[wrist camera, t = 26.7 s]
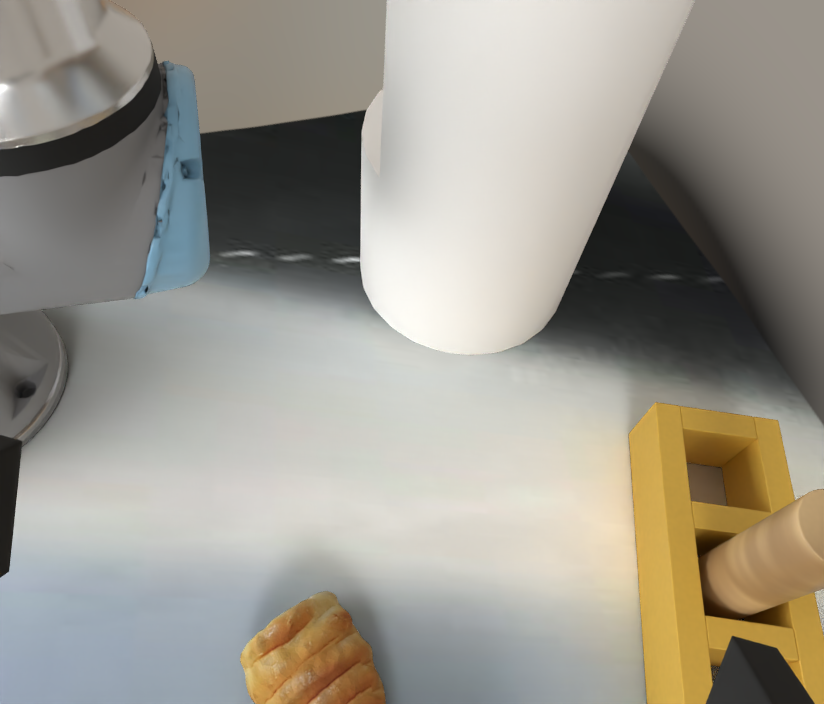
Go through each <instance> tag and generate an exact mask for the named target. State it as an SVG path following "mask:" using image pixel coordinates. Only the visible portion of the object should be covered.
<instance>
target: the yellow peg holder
mask: <svg viewBox="0 0 824 704" xmlns="http://www.w3.org/2000/svg"><path fill="white" fill-rule="evenodd" d="M629 444H630V459H631V473H632V488H633V503H634V518H635V532H636V547H637V562H638V577H639V591H640V606H641V621H642V636H643V651H644V665H645V680H646V695H647V704H706V701H707V699H708V696H709V694H710V691H711V688H712V686H713V682H712V674H711V665H712V666H719V667H720V665H721V663H722V660H723V658H724V655H725V652H726V650H727V647H728V645H729V642H730V640H731V637H732V636H735V637H739V638H743V639H746V640H750V641H753V642H757V643H761V644H764V645H768V646H772V647H775V648H777V649H778V650H779V652H780V653H781V654H782V656H783V657H784V659H785V660H786V662H787V663H788V665H789V666H790V668H791V669H792V671H793V672H794V674H795V675H796V676H797V678H798V679H799V681H800V682H801V684H802V685H803V687H804V688H805V690H806V691H807V693H808V694H809V696H810V697H811V698H812V700H813V701H814V703H815V704H824V636H823V631H822V626H821V622H820V617H819V612H818V607H817V603H816V598H815V593H814V592H813V593H811V594H808V595H805V596H802V597H800V598H797V599H794V600H791V601H789V602H786V603H783V604H780V605H778V606H775V607H772V608H769V609H767V610H764V611H761V612H758V613H756V614H753V615H750V616H747V617H745V618H744V619H745V621H740V620H734V619H727V618H720V617H713V616H705V615H704V606H703V598H702V589H701V581H700V573H699V564H698V556H697V555H699V556H702V555H703V554H705V553H707V552H708V551H710V550H712V549H714V548H715V547H717V546H719V545H720V544H722V543H724V542H725V541H727V540H729V539H731V538H732V537H734V536H736V535H737V534H739V533H741V532H743V531H744V530H746V529H748V528H749V527H751V526H753V525H754V524H756V523H758V522H760V521H761V520H763V519H765V518H766V517H768V516H770V515H771V514H773V513H775V512H777V511H778V510H780V509H782V508H783V507H785V506H787V505H788V504H790V503H792V502H794V501H795V498H794V494H793V489H792V484H791V479H790V475H789V470H788V465H787V460H786V456H785V451H784V446H783V441H782V437H781V432H780V427H779V422H778V420H773V419H766V418H759V417H752V416H745V415H738V414H732V413H725V412H718V411H711V410H704V409H697V408H690V407H683V406H678V405H671V404H664V403H657V402H655V403H654V404H653V406H652V407H651V408H650V409H649V410H648V412H647V413H646V414H645V415H644V416H643V418H642V419H641V420H640V421H639V422H638V423H637V425H636V426H635V427H634V428H633V429H632V431H631V432H630V433H629ZM686 462H687V463H694V464H701V465H708V466H715V467H722V472H723V479H724V486H725V492H726V499H727V506H723V505H716V504H709V503H702V502H695V501H691V497H690V488H689V480H688V471H687V463H686Z"/></svg>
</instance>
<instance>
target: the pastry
mask: <svg viewBox="0 0 824 704" xmlns="http://www.w3.org/2000/svg"><path fill="white" fill-rule="evenodd" d="M240 662H241V664H242V666H243V668H244V671H245V676H246V685H247V690H248V693H249V695H250V697H251V699H252V700H253V701H254V702H255V704H386V701H385V693H384V687H383V684H382V681H381V679H380V676H379V674H378V672H377V671H376V669H375V666H374V663H373V653H372V648H371V646H370V645H369V644H368V643H367V642H366V641H365V640H364V639H363V638H362V637H361V636H360V634H359V632H358V631H357V629H356V628H355V626H354V625H353V624H352V618H351V616H350V614H349V613H348V612H347V611H346V610H345V609H343V608H342V607H341V606H340V604H339V603H338V601H337V597H336V595H334V594H333V593H331V592H328V591H324V592H319V593H316V594H314V595H312V596H311V597H309V598H308V599H307V600H304V601H302V602H300V603H299V604H297V605H296V606H294V607H292V608H290V609H288V610H287V611H285V612H284V613H282V614H281V615H279V616H277V617H276V618H275V619H273V620H272V621H271V622H270V623H269V624H268V625H267V627H266V628H265V629H263V630H261V631H259V632H258V633H257V634H256V636H255V637H254V638H252V639H251V640H250V641H249V642H248V643H247V645H246V646H245V648H244V650H243V652H242V653H241V661H240Z"/></svg>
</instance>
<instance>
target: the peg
mask: <svg viewBox="0 0 824 704" xmlns="http://www.w3.org/2000/svg"><path fill="white" fill-rule="evenodd" d="M698 564H699V573H700V581H701V589H702V598H703V606H704V615H705V616H713V617H720V618H727V619H734V620H739V619H742V618H745V617H747V616H750V615H753V614H756V613H758V612H761V611H764V610H767V609H769V608H772V607H775V606H778V605H780V604H783V603H786V602H789V601H791V600H794V599H797V598H800V597H802V596H805V595H808V594H811V593H813V592H816V591H819V590H822V589H824V489H817V490H813V491H811V492H809V493H807V494H805V495H804V496H802V497H800V498H799V499H797V500H795V501H794V502H792V503H790V504H788V505H787V506H785V507H783V508H782V509H780V510H778V511H777V512H775V513H773V514H771V515H770V516H768V517H766V518H765V519H763V520H761V521H760V522H758V523H756V524H754V525H753V526H751V527H749V528H748V529H746V530H744V531H743V532H741V533H739V534H737V535H736V536H734V537H732V538H731V539H729V540H727V541H725V542H724V543H722V544H720V545H719V546H717V547H715V548H714V549H712V550H710V551H708V552H707V553H705V554H703V555H702V556H700V557H698Z"/></svg>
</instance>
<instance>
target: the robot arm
mask: <svg viewBox="0 0 824 704" xmlns="http://www.w3.org/2000/svg"><path fill="white" fill-rule="evenodd" d="M209 262H210V247H209V234H208V222H207V211H206V200H205V190H204V180H203V170H202V156H201V144H200V132H199V120H198V110H197V100H196V90H195V81H194V75H193V73H192V71H191V70H190V69H189V68H188V67H186V66H183V65H177V64H173V63H171V62H169V61H164V62H162V63H160V64H157V60H156V57H155V53H154V50H153V46H152V42H151V40H150V38H149V36H148V33H147V31H146V29H145V28H144V26H143V24H142V23H141V22H140V21H139V20H138V19H137V18H136V17H135V16H134V15H133V14H131V13H130V12H129V11H127V10H126V9H124V8H123V7H121V6H119V5H117V4H116V3H114V2H112V1H110V0H0V577H2V576H3V575H5V574H6V573H7V572H9V567H10V557H11V547H12V537H13V527H14V517H15V508H16V498H17V488H18V478H19V468H20V458H21V449H22V447H23V446H24V445H25V444H26V443H27V442H28V441H29V440H30V439H31V438H33V437H34V435H35V434H36V433H37V432H38V431H39V430H40V429H41V428H42V427H43V425H44V424H45V423H46V421H47V420H48V419H49V417H50V416H51V414H52V413H53V411H54V410H55V408H56V406H57V404H58V402H59V400H60V398H61V395H62V393H63V390H64V386H65V383H66V378H67V370H68V361H67V353H66V348H65V345H64V343H63V340H62V338H61V336H60V334H59V333H58V331H57V330H56V328H55V327H54V325H53V324H52V323H51V321H50V320H49V318H48V317H47V316H46V315H45V314H44V313H43V312H42V311H41V310H42V309H50V308H58V307H66V306H74V305H83V304H91V303H99V302H107V301H115V300H123V299H131V298H133V299H140V298H143V297H145V296H146V295H147V294H151V293H156V292H161V291H166V290H171V289H176V288H181V287H186V286H189V285H191V284H194V283H195V282H196V281H198V280H199V279H201V278H202V276H203V275H204V274H205V272H206V271H207V269H208V266H209ZM706 704H815V703H814V701H813V700H812V698H811V697H810V696H809V694H808V693H807V691H806V690H805V688H804V687H803V685H802V684H801V682H800V681H799V679H798V678H797V676H796V675H795V674H794V672H793V671H792V669H791V668H790V666H789V665H788V663H787V662H786V660H785V659H784V657H783V656H782V654H781V653H780V652H779V650H778V649H777V648H775V647H772V646H768V645H764V644H761V643H757V642H753V641H750V640H746V639H743V638H739V637H735V636H732V637H731V640H730V642H729V645H728V647H727V650H726V652H725V655H724V658H723V660H722V663H721V665H720V668H719V670H718V673H717V676H716V678H715V681H714V683H713V686H712V688H711V691H710V694H709V696H708V699H707V701H706Z"/></svg>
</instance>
